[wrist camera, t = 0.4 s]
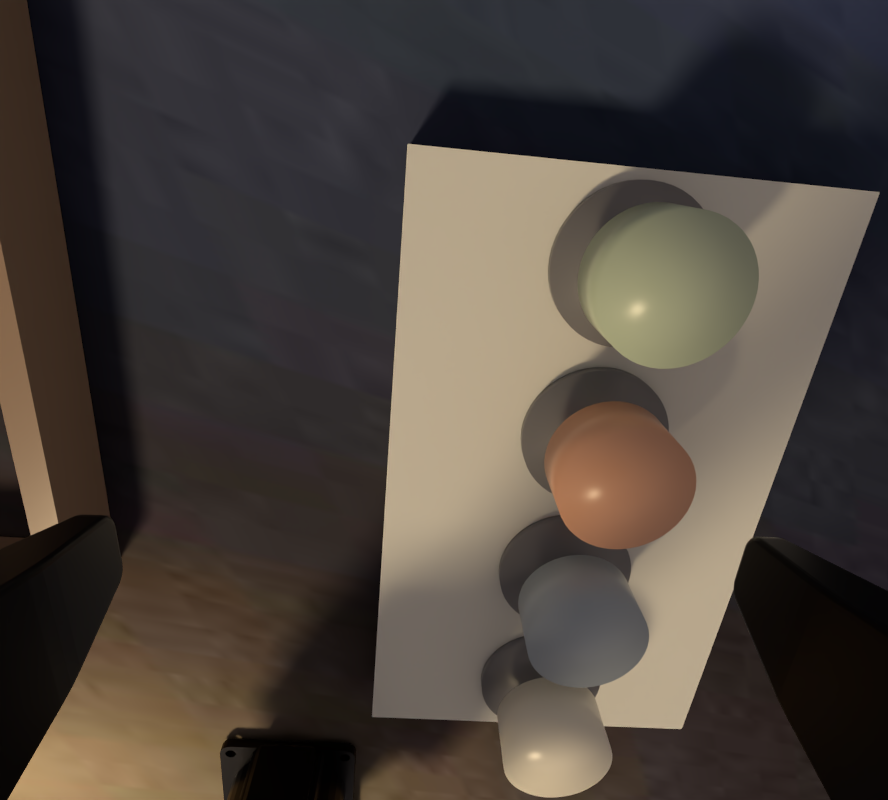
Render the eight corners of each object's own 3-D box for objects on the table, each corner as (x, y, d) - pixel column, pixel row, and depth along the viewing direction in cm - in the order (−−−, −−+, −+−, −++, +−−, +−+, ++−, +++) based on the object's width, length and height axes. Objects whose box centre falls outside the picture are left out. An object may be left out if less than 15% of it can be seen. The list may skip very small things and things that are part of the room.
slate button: (616, 644, 21) (634, 690, 20) (510, 639, 21) (518, 685, 19) (640, 558, 20) (662, 599, 18) (527, 551, 20) (537, 592, 18)
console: (664, 690, 28) (685, 737, 26) (375, 678, 27) (370, 725, 25) (835, 188, 19) (890, 192, 17) (409, 144, 18) (407, 143, 16)
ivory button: (586, 748, 24) (600, 798, 22) (491, 745, 23) (496, 795, 22) (606, 679, 22) (622, 726, 20) (504, 674, 22) (511, 722, 20)
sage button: (698, 350, 17) (732, 374, 15) (565, 339, 17) (583, 362, 15) (738, 209, 15) (780, 216, 13) (592, 194, 15) (616, 200, 13)
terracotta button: (652, 515, 19) (676, 553, 17) (535, 507, 19) (547, 545, 17) (682, 406, 18) (713, 435, 16) (555, 396, 17) (570, 425, 16)
